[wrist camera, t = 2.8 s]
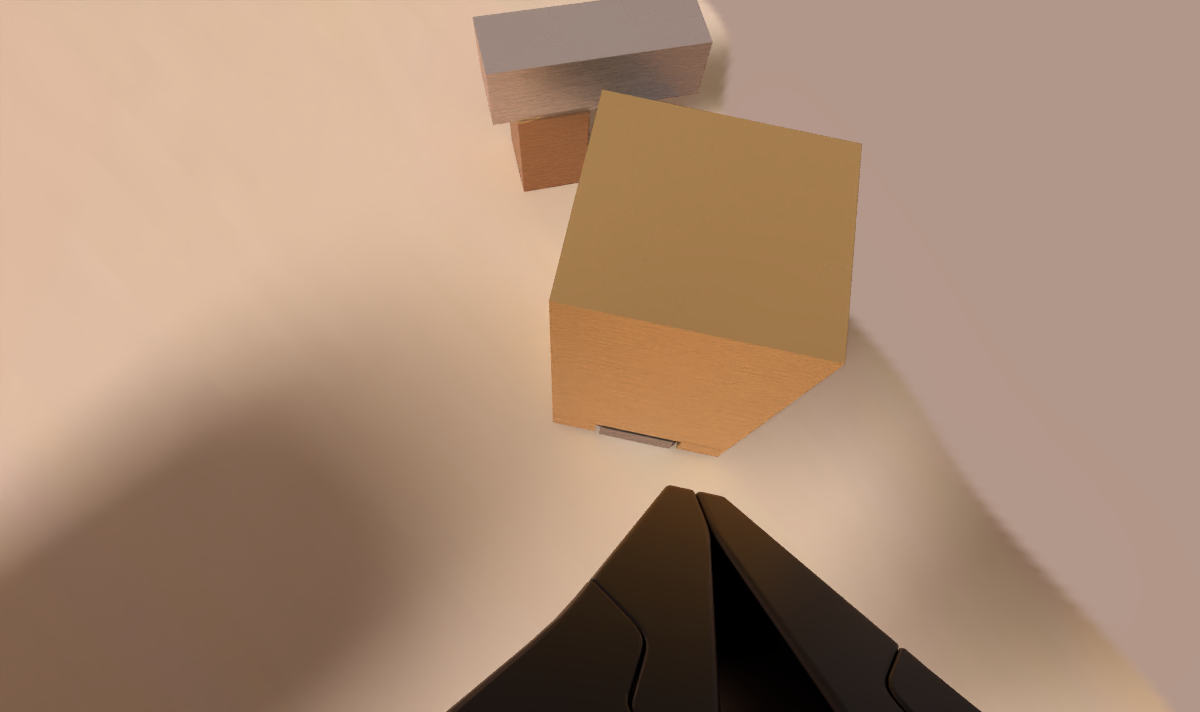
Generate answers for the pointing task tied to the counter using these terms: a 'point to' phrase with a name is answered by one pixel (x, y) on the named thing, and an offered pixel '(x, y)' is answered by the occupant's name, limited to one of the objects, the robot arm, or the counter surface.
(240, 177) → the counter surface
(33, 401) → the counter surface
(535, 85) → the rig
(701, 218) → the tan rectangular block
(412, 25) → the counter surface
